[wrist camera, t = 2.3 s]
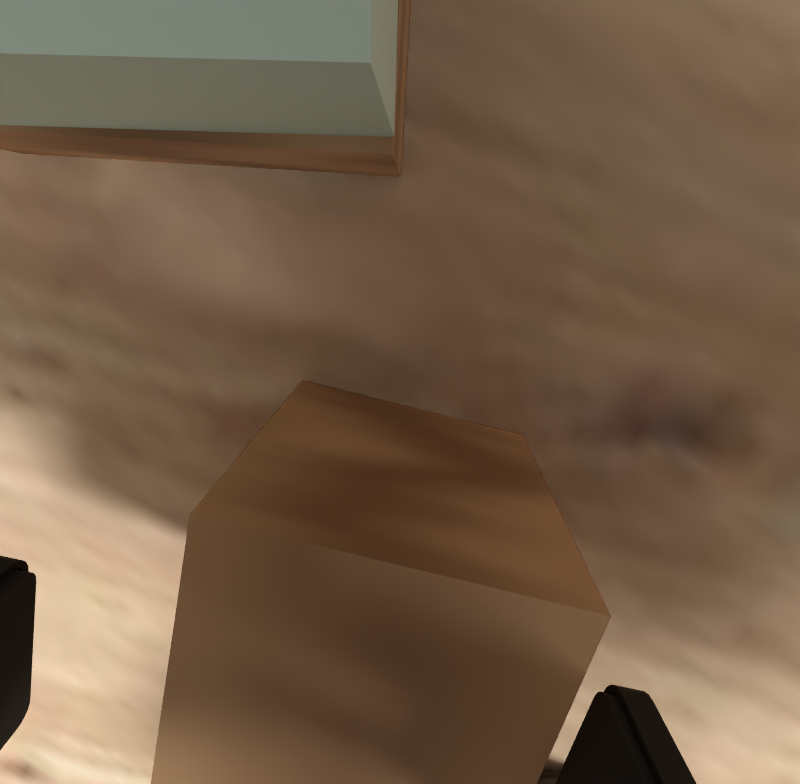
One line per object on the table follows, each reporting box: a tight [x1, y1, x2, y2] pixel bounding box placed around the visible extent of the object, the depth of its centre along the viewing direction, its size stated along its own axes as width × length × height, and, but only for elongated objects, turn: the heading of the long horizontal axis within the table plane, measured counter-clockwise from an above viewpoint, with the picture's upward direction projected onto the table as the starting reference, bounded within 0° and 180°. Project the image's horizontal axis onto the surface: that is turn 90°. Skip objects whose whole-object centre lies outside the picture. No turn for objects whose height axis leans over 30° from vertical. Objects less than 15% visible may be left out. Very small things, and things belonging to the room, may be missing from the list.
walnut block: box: [151, 380, 611, 784], centre depth 12 cm, size 6×6×7 cm
